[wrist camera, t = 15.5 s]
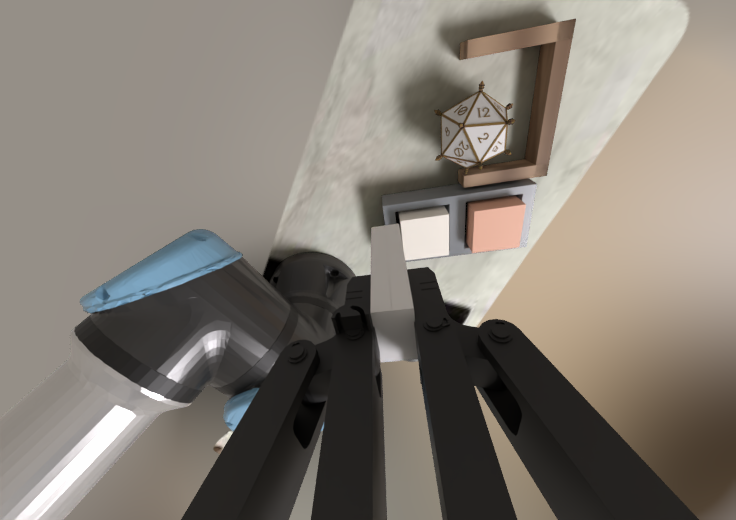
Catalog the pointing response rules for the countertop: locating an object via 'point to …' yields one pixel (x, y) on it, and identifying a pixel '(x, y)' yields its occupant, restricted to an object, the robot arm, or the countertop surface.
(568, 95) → the countertop surface
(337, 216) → the countertop surface
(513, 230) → the terracotta key
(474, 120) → the game die
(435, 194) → the key panel
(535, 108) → the walnut bracket
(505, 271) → the countertop surface
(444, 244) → the ivory key
